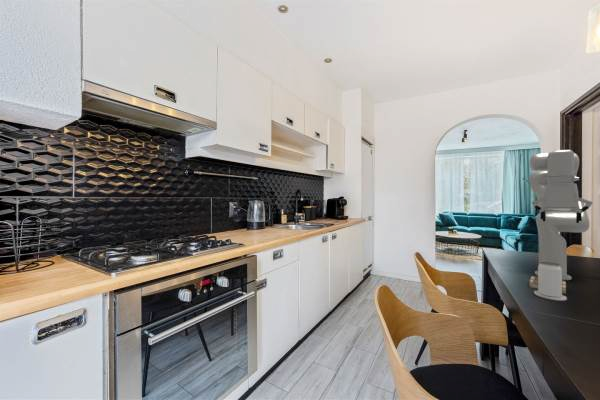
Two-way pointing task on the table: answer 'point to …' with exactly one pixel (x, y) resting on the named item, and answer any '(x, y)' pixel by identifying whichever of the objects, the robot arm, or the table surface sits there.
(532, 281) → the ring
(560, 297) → the coaster
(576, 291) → the table surface
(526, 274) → the table surface
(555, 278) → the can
